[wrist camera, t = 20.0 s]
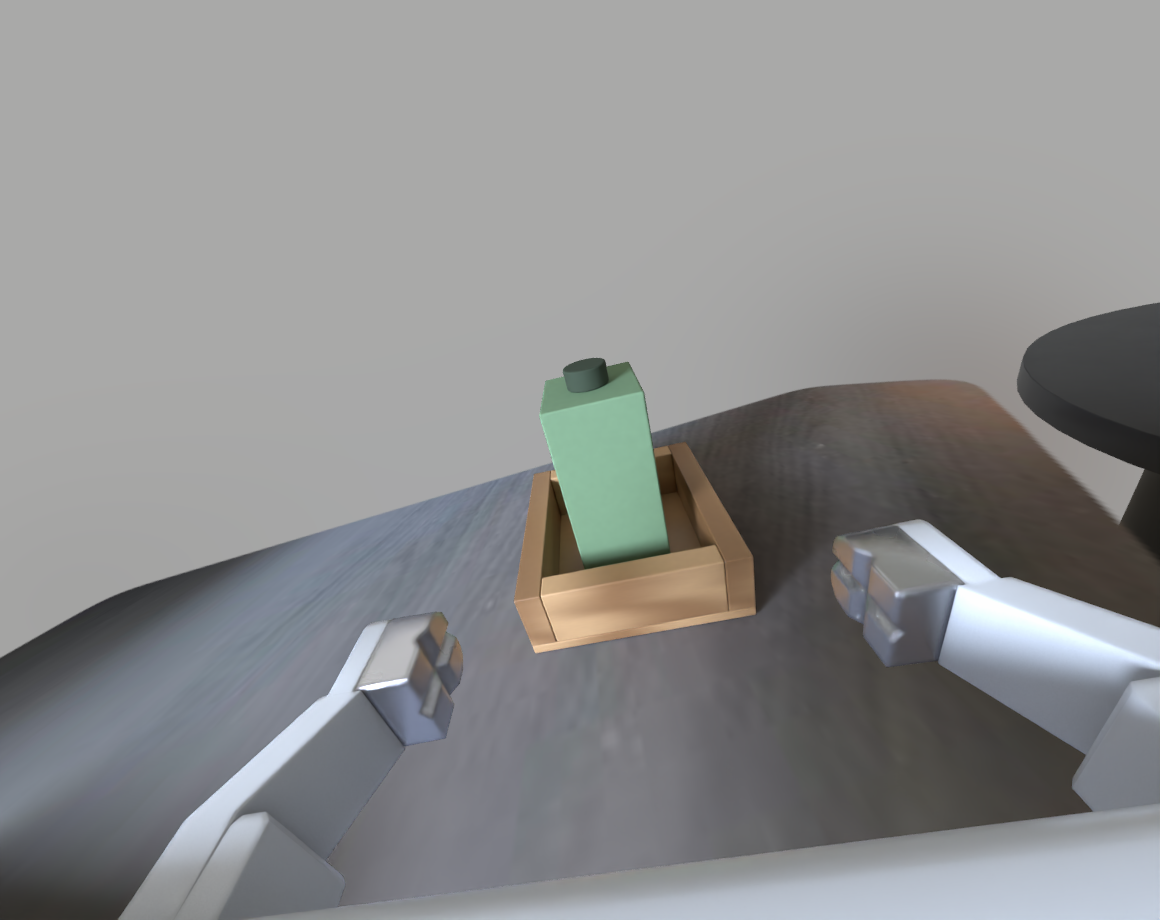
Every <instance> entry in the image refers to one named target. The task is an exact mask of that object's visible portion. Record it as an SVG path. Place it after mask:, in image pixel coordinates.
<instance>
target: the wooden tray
mask: <svg viewBox="0 0 1160 920" xmlns="http://www.w3.org/2000/svg"><path fill="white" fill-rule="evenodd" d="M654 455H655V461H656V467H657V473H658V479H659V485H660V491H661V498H662V504H663V510H664V516H665V522H666V528H667V534H668V540H669V546H670V552H671V553H669V554H664V555H659V556H654V557H648V558H643V559H638V560H633V561H627V562H622V563H617V564H612V565H607V566H601V567H596V568H591V569H586V570H585V569H584V566H583V562H582V559H581V556H580V552H579V549H578V545H577V542H576V539H575V535H574V532H573V529H572V525H571V522H570V518H569V515H568V512H567V508H566V505H565V502H564V498H563V495H562V491H561V488H560V485H559V481H558V478H557V475H556V471H555V470H552V471H547V472H542V473H537V474H534V478H533V484H532V490H531V497H530V503H529V509H528V516H527V522H526V528H525V535H524V541H523V547H522V554H521V560H520V566H519V572H518V579H517V585H516V591H515V598H514V603H515V605H516V608H517V610H518V613H519V615H520V617H521V620H522V622H523V624H524V627H525V629H526V632H527V634H528V636H529V639H530V641H531V644H532V646H533V648H534V651H535V653H540V652H546V651H551V650H557V649H563V648H569V647H574V646H580V645H586V644H591V643H597V642H603V641H608V640H614V639H620V638H625V637H631V636H637V635H642V634H648V633H654V632H660V631H665V630H671V629H677V628H682V627H688V626H694V625H699V624H705V623H711V622H716V621H722V620H728V619H734V618H739V617H745V616H751V615H756V601H755V580H754V559H753V555H752V553H751V552H750V550H749V548H748V547H747V545H746V543H745V542H744V540H743V538H742V536H741V535H740V533H739V531H738V530H737V528H736V526H735V525H734V523H733V521H732V519H731V518H730V516H729V514H728V513H727V511H726V509H725V508H724V506H723V504H722V502H721V501H720V499H719V497H718V496H717V494H716V492H715V491H714V489H713V487H712V486H711V484H710V482H709V480H708V479H707V477H706V475H705V474H704V472H703V470H702V469H701V467H700V465H699V463H698V462H697V460H696V458H695V457H694V455H693V453H692V452H691V450H690V448H689V446H688V445H687V443H686V442H682V443H677V444H673V445H669V446H664V447H659V448H655V449H654Z"/></svg>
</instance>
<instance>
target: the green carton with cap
mask: <svg viewBox="0 0 1160 920" xmlns="http://www.w3.org/2000/svg"><path fill="white" fill-rule="evenodd" d="M563 374H564V377H561V378H556V379H552V380H548V381H546V382H545V386H544V392H543V398H542V403H541V409H540V415H539V417H540V420H541V424H542V427H543V430H544V434H545V437H546V441H547V444H548V447H549V451H550V454H551V458H552V461H553V464H554V468H555V471H556V475H557V478H558V481H559V485H560V488H561V491H562V495H563V498H564V502H565V505H566V508H567V512H568V515H569V518H570V522H571V525H572V529H573V532H574V535H575V539H576V542H577V545H578V549H579V552H580V556H581V559H582V562H583V566H584V569H585V570H586V569H591V568H596V567H601V566H607V565H612V564H617V563H622V562H627V561H633V560H638V559H643V558H648V557H654V556H659V555H664V554H669V553H671V552H670V546H669V540H668V534H667V528H666V522H665V516H664V510H663V504H662V498H661V491H660V485H659V479H658V473H657V467H656V461H655V455H654V449H653V443H652V437H651V431H650V425H649V419H648V413H647V407H646V401H645V395H644V391H643V389H642V387H641V386H640V384H639V382H638V380H637V378H636V376H635V374H634V372H633V370H632V368H631V366H630V364H629V362H625V363H620V364H616V365H612V366H608V367H606V362H605V360H604V359H602V358H590V359H585V360H581V361H577V362H574V363H572V364H569V365H568V366H566V367H565V368H564V369H563Z"/></svg>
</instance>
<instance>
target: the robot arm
mask: <svg viewBox="0 0 1160 920" xmlns="http://www.w3.org/2000/svg"><path fill="white" fill-rule="evenodd" d="M832 552H833V553H834V554H835V555H836V557H837V558H838V559H839V560H838V561H837V563H836V564H835V565H834V566H833V567H832V568H831V583H832V587H833V590H834V594H835V596H836V598H837V600H838V602H839V604H840V606H841V607H842V609H843V610H844V611H845V613H846V614H847V616H848V617H850V618H852V619H854V620H856V621H858V622H860V623H862V624H864V629H863V637H864V638H865V640H866V641H867V642H868V644H869V645H870V646H871V648H872V649H873V650H874V651H875V653H876V654H877V655H878V657H879V658H880V659H881V661H882V662H883V663H884V665H885V666H886V667H894V666H902V665H909V664H917V663H925V662H932V661H938V664H940V665H941V666H943V667H945V668H946V669H948V670H949V671H951V672H953V673H954V674H956V675H957V676H959V677H961V678H962V679H964V680H966V681H967V682H969V683H970V684H972V685H974V686H975V687H977V688H979V689H980V690H982V691H983V692H985V693H987V694H988V695H990V696H991V697H993V698H995V699H996V700H998V701H1000V702H1001V703H1003V704H1004V705H1006V706H1008V707H1009V708H1011V709H1012V710H1014V711H1016V712H1017V713H1019V714H1021V715H1022V716H1024V717H1025V718H1027V719H1029V720H1030V721H1032V722H1034V723H1035V724H1037V725H1038V726H1040V727H1042V728H1043V729H1045V730H1046V731H1048V732H1050V733H1051V734H1053V735H1055V736H1056V737H1058V738H1059V739H1061V740H1063V741H1064V742H1066V743H1067V744H1069V745H1071V746H1072V747H1074V748H1076V749H1077V750H1079V751H1080V752H1082V753H1084V754H1085V755H1086V756H1085V758H1084V760H1083V761H1082V763H1081V765H1080V766H1079V768H1078V770H1077V771H1076V773H1075V775H1074V776H1073V782H1072V789H1073V790H1074V791H1075V792H1076V793H1077V794H1078V795H1079V796H1080V797H1081V799H1082V800H1083V801H1084V802H1085V803H1086V804H1087V805H1088V806H1089V807H1090V808H1091V810H1092V811H1093V812H1087V813H1079V814H1071V815H1063V816H1055V817H1047V818H1040V819H1032V820H1024V821H1016V822H1008V823H1000V824H992V825H984V826H976V827H968V828H960V829H952V830H944V831H936V832H929V833H921V834H913V835H905V836H897V837H889V838H881V839H873V840H865V841H857V842H849V843H841V844H833V845H826V846H818V847H810V848H802V849H794V850H786V851H778V852H770V853H762V854H754V855H746V856H738V857H730V858H722V859H715V860H707V861H699V862H691V863H683V864H675V865H667V866H659V867H651V868H643V869H635V870H627V871H619V872H611V873H604V874H596V875H588V876H580V877H572V878H564V879H556V880H548V881H540V882H532V883H524V884H517V885H509V886H501V887H493V888H485V889H477V890H469V891H461V892H453V893H446V894H438V895H430V896H422V897H414V898H406V899H398V900H390V901H382V902H374V903H367V904H359V905H351V906H343V907H338V905H339V902H340V899H341V896H342V893H343V890H344V887H345V881H344V878H343V875H342V874H341V873H339V872H338V871H337V870H336V869H334V868H333V867H332V866H331V865H330V864H328V863H327V862H326V859H327V858H328V857H329V855H330V854H331V852H332V851H333V850H334V848H335V847H336V845H337V844H338V842H339V841H340V840H341V838H342V837H343V835H344V834H345V833H346V831H347V830H348V828H349V827H350V826H351V824H352V823H353V821H354V820H355V819H356V817H357V816H358V814H359V813H360V812H361V810H362V809H363V807H364V806H365V805H366V803H367V802H368V800H369V799H370V798H371V796H372V795H373V793H374V792H375V791H376V789H377V788H378V786H379V785H380V784H381V782H382V781H383V779H384V778H385V777H386V775H387V774H388V772H389V771H390V770H391V768H392V767H393V765H394V764H395V763H396V761H397V760H398V758H399V757H400V756H401V754H402V753H403V751H404V750H405V747H404V746H409V745H414V744H419V743H424V742H430V741H435V740H440V739H445V738H446V735H447V731H448V727H449V723H450V720H451V716H452V712H453V708H454V703H453V701H452V699H451V696H450V694H451V693H452V692H453V691H454V690H455V688H456V687H457V686H458V685H459V684H460V680H461V676H462V671H463V654H462V650H461V646H460V644H459V642H458V640H457V638H456V637H455V636H453V635H451V634H449V633H447V632H446V629H447V626H448V622H447V620H446V618H445V617H444V615H443V613H442V612H431V613H425V614H419V615H413V616H407V617H401V618H395V619H392V620H386V621H379V622H373V623H371V624H369V625H368V626H367V627H365V628H364V630H363V632H362V634H361V636H360V637H359V639H358V641H357V643H356V645H355V647H354V649H353V650H352V652H351V654H350V656H349V658H348V660H347V661H346V663H345V665H344V667H343V669H342V671H341V672H340V674H339V676H338V678H337V680H336V682H335V684H334V685H333V687H332V689H331V691H330V693H329V695H328V696H325V697H320V698H319V699H318V700H317V701H316V702H315V703H314V704H313V705H311V706H310V707H309V708H308V709H307V710H306V711H305V712H304V713H303V714H302V715H300V716H299V717H298V718H297V719H296V720H295V721H294V722H293V723H292V724H291V725H289V726H288V727H287V728H286V729H285V730H284V731H283V732H282V733H281V734H280V735H278V736H277V737H276V738H275V739H274V740H273V741H272V742H271V743H270V744H268V745H267V746H266V747H265V748H264V749H263V750H262V751H261V752H260V753H259V754H257V755H256V756H255V757H254V758H253V759H252V760H251V761H250V762H249V763H248V764H246V765H245V766H244V767H243V768H242V769H241V770H240V771H239V772H238V773H237V774H235V775H234V776H233V777H232V778H231V779H230V780H229V781H228V782H227V783H226V784H224V785H223V786H222V787H221V788H220V789H219V790H218V791H217V792H216V793H214V794H213V795H212V796H211V797H210V798H209V799H208V800H207V801H206V802H205V803H203V804H202V805H201V806H200V807H199V808H198V809H197V810H196V811H195V812H194V813H192V814H191V815H190V816H189V817H188V818H187V819H186V820H185V821H184V822H183V824H182V825H181V827H180V828H179V830H178V831H177V833H176V834H175V836H174V837H173V839H172V840H171V841H170V843H169V844H168V846H167V847H166V849H165V850H164V852H163V853H162V855H161V856H160V858H159V859H158V861H157V862H156V864H155V865H154V867H153V868H152V870H151V871H150V873H149V874H148V876H147V877H146V879H145V880H144V882H143V883H142V885H141V886H140V888H139V889H138V891H137V892H136V894H135V895H134V897H133V898H132V899H131V901H130V902H129V904H128V905H127V907H126V908H125V910H124V911H123V913H122V914H121V916H120V917H119V919H118V920H1160V628H1159V627H1156V626H1153V625H1150V624H1147V623H1144V622H1141V621H1138V620H1136V619H1133V618H1130V617H1127V616H1124V615H1121V614H1118V613H1115V612H1112V611H1109V610H1106V609H1103V608H1100V607H1098V606H1095V605H1092V604H1089V603H1086V602H1083V601H1080V600H1077V599H1074V598H1071V597H1068V596H1065V595H1062V594H1060V593H1057V592H1054V591H1051V590H1048V589H1045V588H1042V587H1039V586H1036V585H1033V584H1030V583H1027V582H1024V581H1022V580H1019V579H1016V578H1013V577H1006V578H1000V577H999V576H997V575H996V574H995V573H993V572H992V571H991V570H989V569H988V568H987V567H986V566H984V565H983V564H982V563H980V562H979V561H978V560H976V559H975V558H974V557H973V556H971V555H970V554H969V553H967V552H966V551H965V550H963V549H962V548H961V547H960V546H958V545H957V544H956V543H954V542H953V541H952V540H950V539H949V538H948V537H947V536H945V535H944V534H943V533H941V532H940V531H939V530H937V529H936V528H935V527H933V526H932V525H931V524H930V523H928V522H926V521H923V520H920V519H917V520H912V521H907V522H902V523H897V524H892V525H890V526H883V527H878V528H873V529H868V530H863V531H858V532H853V533H848V534H843V535H838V536H836V538H835V539H834V541H833V550H832Z"/></svg>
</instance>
